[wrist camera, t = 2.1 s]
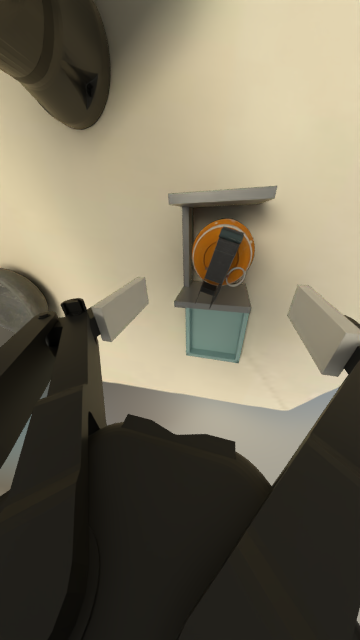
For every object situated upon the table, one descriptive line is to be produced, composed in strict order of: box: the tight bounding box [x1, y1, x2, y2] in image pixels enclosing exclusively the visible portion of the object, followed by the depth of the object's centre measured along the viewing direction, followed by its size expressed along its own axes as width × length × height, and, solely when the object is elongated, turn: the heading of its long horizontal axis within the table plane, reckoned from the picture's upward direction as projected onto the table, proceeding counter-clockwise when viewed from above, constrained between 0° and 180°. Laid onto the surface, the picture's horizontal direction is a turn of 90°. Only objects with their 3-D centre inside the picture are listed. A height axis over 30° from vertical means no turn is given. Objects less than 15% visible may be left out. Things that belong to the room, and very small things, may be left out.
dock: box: [168, 186, 277, 313], centre depth 31 cm, size 17×14×12 cm
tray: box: [186, 308, 249, 363], centre depth 45 cm, size 17×15×3 cm
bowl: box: [0, 268, 48, 333], centre depth 54 cm, size 23×22×10 cm
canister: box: [192, 218, 255, 309], centre depth 27 cm, size 9×11×20 cm
